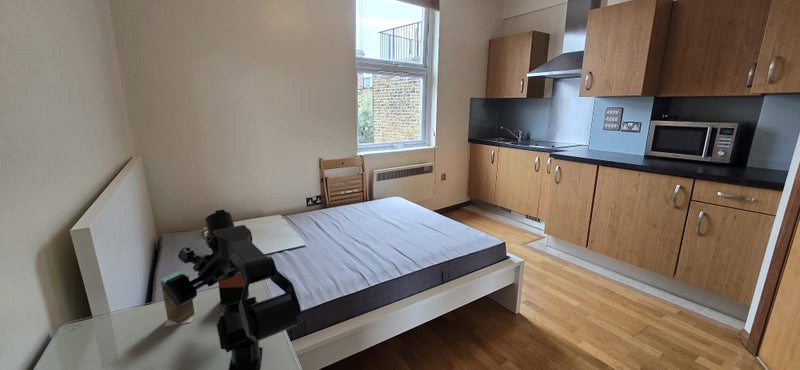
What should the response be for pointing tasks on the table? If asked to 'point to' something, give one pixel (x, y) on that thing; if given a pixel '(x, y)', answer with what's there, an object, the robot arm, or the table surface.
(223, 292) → the battery
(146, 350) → the table surface
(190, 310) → the block
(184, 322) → the pad
